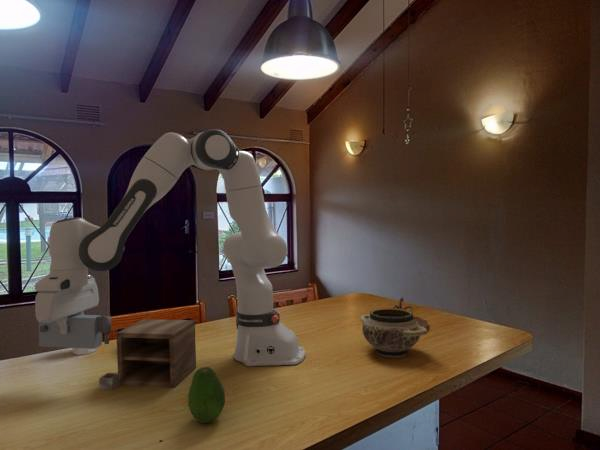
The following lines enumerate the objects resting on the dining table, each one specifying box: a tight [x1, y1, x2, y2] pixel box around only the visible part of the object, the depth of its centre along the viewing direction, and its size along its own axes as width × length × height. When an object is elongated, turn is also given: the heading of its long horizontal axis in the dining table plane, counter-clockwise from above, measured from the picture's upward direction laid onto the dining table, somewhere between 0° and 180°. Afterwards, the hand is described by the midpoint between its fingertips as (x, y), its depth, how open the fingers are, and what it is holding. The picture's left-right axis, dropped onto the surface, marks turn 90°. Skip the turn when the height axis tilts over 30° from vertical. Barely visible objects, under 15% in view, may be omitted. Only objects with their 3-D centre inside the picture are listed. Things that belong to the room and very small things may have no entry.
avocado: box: [187, 366, 226, 424], centre depth 94 cm, size 8×8×12 cm
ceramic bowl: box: [359, 307, 429, 358], centre depth 136 cm, size 24×18×15 cm
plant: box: [392, 297, 428, 330], centre depth 165 cm, size 20×20×11 cm
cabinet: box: [98, 318, 197, 391], centre depth 119 cm, size 19×17×14 cm
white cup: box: [71, 348, 97, 356], centre depth 143 cm, size 8×8×10 cm
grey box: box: [38, 314, 112, 350], centre depth 114 cm, size 20×4×8 cm, turn 81°
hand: (70, 331), depth 115 cm, fingers closed on grey box, 3 cm apart
